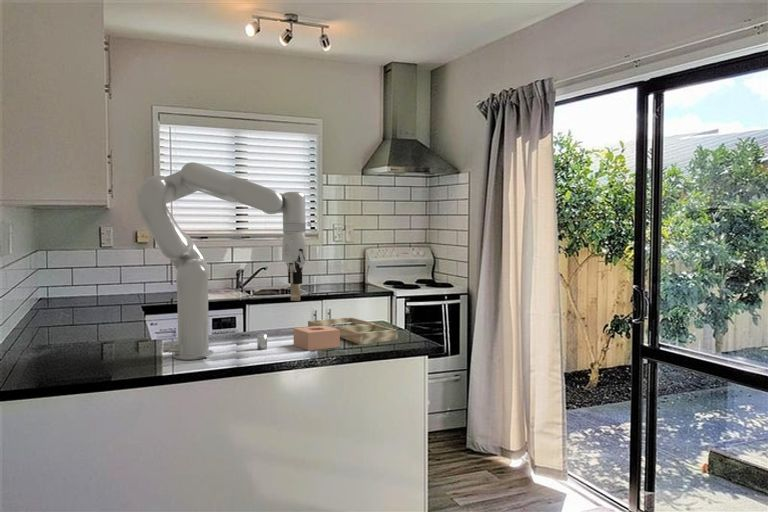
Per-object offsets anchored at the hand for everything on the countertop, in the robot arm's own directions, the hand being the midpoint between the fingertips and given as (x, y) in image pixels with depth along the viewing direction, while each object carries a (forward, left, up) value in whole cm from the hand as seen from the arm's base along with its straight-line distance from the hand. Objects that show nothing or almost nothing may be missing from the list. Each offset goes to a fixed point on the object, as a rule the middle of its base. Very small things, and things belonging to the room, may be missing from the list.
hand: (295, 283), depth 202 cm
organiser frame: (+31, +15, -23) cm, 41 cm away
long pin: (0, 0, -6) cm, 6 cm away
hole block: (+9, +3, -23) cm, 25 cm away
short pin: (-9, +8, -23) cm, 25 cm away
